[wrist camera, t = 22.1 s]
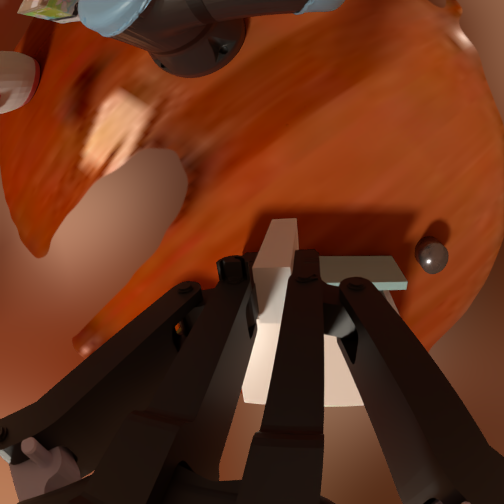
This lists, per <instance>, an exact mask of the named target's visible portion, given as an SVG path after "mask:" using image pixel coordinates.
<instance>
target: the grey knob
mask: <svg viewBox="0 0 504 504" xmlns="http://www.w3.org/2000/svg"><path fill="white" fill-rule="evenodd" d="M415 258H416V260H417V261H418V263H419V264H420V265H421V266H422V268H423V269H424V270H425V271H426V272H427V273H429V274H436V273H438V272H440V271H441V270H443V268H444V267H445V266H446V264H447V262H448V251H447V249H446V248H445V247H444V246H443V245H442V244H441V243H440V242H439V241H438V240H437V239H436V238H434V237H431V236H428V237H424V238H423V239H421V240H420V241H419V242H418V244H417V245H416V248H415Z"/></svg>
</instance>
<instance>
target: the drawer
mask: <svg viewBox="0 0 504 504" xmlns="http://www.w3.org/2000/svg"><path fill="white" fill-rule="evenodd" d="M319 261H320V275H321V279H322V280H323V281H324V282H325V283H327V284H330V285H334V286H339V284H340V282H341V281H342V280H344V279H346V278H349V277H363V278H365V279H368V280H369V281H371V282H372V283H373V284H374V285H375V287H376V288H377V289H378V290H379V291H380V293H381V290H406V288H407V283H408V281H407V280H406V278H405V276H404V275H403V273H402V271H401V270H400V268H399V267H398V265H397V263H396V262H395V260H394V259H393V257H392V256H319Z"/></svg>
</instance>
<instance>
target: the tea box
mask: <svg viewBox="0 0 504 504" xmlns="http://www.w3.org/2000/svg"><path fill="white" fill-rule="evenodd" d="M78 2H79V0H23V2H22V4H21V6H20V8H19V10H18V13H19V14H24V15H28V16H33V17H38V18H42V19H46V20H50V21H54V22H58V23H67V22H75V21H81V20H80V18H79V14H78Z"/></svg>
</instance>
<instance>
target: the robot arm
mask: <svg viewBox="0 0 504 504" xmlns="http://www.w3.org/2000/svg"><path fill="white" fill-rule="evenodd" d="M344 1H345V0H79V2H78V14H79V18H80V20H81V22H82V23H83V24H84V25H85V26H86V27H88V28H89V29H92V30H94V31H96V32H98V33H100V34H101V35H102V36H104V37H110V38H113V39H116V40H119V41H122V42H125V43H128V44H130V45H133V46H136V47H138V48H141V49H144V50H146V51H148V52H149V54H150V56H151V57H152V59H153V60H154V62H155V63H156V64H157V65H158V66H159V67H160V68H161V69H163V70H164V71H166V72H168V73H171V74H173V75H176V76H179V77H185V78H195V77H201V76H205V75H208V74H211V73H213V72H215V71H217V70H219V69H221V68H222V67H224V66H225V65H226V64H228V63H229V62H230V61H231V60H232V59H233V58H234V57H235V56H236V54H237V53H238V52H239V50H240V48H241V46H242V44H243V41H244V38H245V22H244V19H243V18H246V17H254V16H263V15H273V14H288V13H293V14H295V15H299V14H303V13H304V12H328V11H333V10H335V9H337V8H338V7H340V6H341V5H342V4H343V3H344ZM216 264H217V269H218V275H219V280H220V281H219V282H218V284H217V286H216V287H215V288H213V289H208V290H201V286H200V284H199V283H197V282H190V281H186V282H182V283H180V284H178V285H176V286H174V287H173V288H172V289H170V290H169V291H168V292H167V293H165V294H164V295H163V296H162V297H160V298H159V299H158V300H157V301H155V302H154V303H153V304H152V305H150V306H149V307H148V308H147V309H146V310H144V311H143V312H142V313H141V314H139V315H138V316H137V317H136V318H135V319H133V320H132V321H131V322H130V323H128V324H127V325H126V326H125V327H124V328H122V329H121V330H120V331H119V332H118V333H116V334H115V335H114V336H113V337H112V338H110V339H109V340H108V341H107V342H106V343H104V344H103V345H102V346H101V347H100V348H98V349H97V350H96V351H95V352H94V353H92V354H91V355H90V356H89V357H88V358H87V359H85V360H84V361H83V362H82V363H81V364H79V365H78V366H77V367H76V368H75V369H74V370H72V371H71V372H70V373H69V374H68V375H67V376H65V377H64V378H63V379H62V380H61V381H60V382H58V383H57V384H56V385H55V386H54V387H53V388H52V389H50V390H49V391H48V392H47V393H46V394H45V395H44V396H42V397H41V398H40V399H39V400H38V401H37V402H35V403H33V404H31V405H29V406H27V407H25V408H23V409H21V410H19V411H17V412H15V413H13V414H11V415H8V416H6V417H4V418H2V419H0V456H1V457H2V458H3V459H4V460H5V461H6V462H8V464H9V466H10V470H11V474H12V478H13V482H14V486H15V489H16V492H17V496H18V499H19V503H17V504H335V503H333V502H332V501H330V500H329V499H327V498H325V497H322V496H320V492H321V480H322V468H323V453H324V434H323V423H324V422H323V421H324V334H325V335H330V336H335V337H336V339H337V343H338V346H339V348H340V350H341V352H342V355H343V357H344V359H345V361H346V364H347V366H348V368H349V370H350V373H351V375H352V377H353V380H354V382H355V384H356V387H357V389H358V391H359V394H360V396H361V399H362V401H363V403H364V406H365V408H366V411H367V413H368V416H369V418H370V420H371V423H372V425H373V428H374V430H375V433H376V435H377V438H378V440H379V443H380V446H381V448H382V451H383V453H384V456H385V459H386V461H387V464H388V466H389V469H390V472H391V474H392V477H393V480H394V483H395V486H396V488H397V491H398V494H399V496H400V498H401V501H402V503H403V504H504V457H503V456H502V455H501V454H499V453H498V452H497V451H495V450H494V449H493V448H492V447H491V446H489V444H488V443H487V441H486V439H485V437H484V436H483V434H482V432H481V431H480V429H479V427H478V426H477V424H476V422H475V421H474V419H473V418H472V416H471V415H470V413H469V412H468V410H467V408H466V407H465V405H464V404H463V402H462V400H461V399H460V398H459V396H458V394H457V393H456V392H455V390H454V389H453V387H452V386H451V384H450V383H449V381H448V380H447V379H446V377H445V376H444V374H443V373H442V371H441V370H440V369H439V367H438V366H437V364H436V363H435V362H434V360H433V359H432V357H431V356H430V355H429V353H428V352H427V351H426V349H425V348H424V347H423V345H422V344H421V343H420V341H419V340H418V339H417V337H416V336H415V335H414V334H413V332H412V331H411V330H410V328H409V327H408V326H407V325H406V323H405V322H404V321H403V319H402V318H401V317H400V316H399V314H398V313H397V312H396V311H395V310H394V308H393V307H392V306H391V305H390V303H389V302H388V301H387V300H386V299H385V297H384V296H383V295H382V294H381V293H380V291H379V290H378V289H377V288H376V287H375V285H374V284H373V283H372V282H371V281H369V280H368V279H365V278H363V277H349V278H346V279H344V280H342V281H341V282H340V284H339V286H334V285H330V284H327V283H325V282H324V281H323V280H322V279H321V275H320V261H319V253H318V252H317V251H316V250H315V249H308V250H299V244H298V229H297V218H288V219H272V221H271V223H270V226H269V228H268V231H267V233H266V235H265V238H264V240H263V243H262V245H261V248H260V250H259V252H251V253H245V254H244V255H243V256H239V255H234V256H228V257H224V258H222V259H220V260H218V261H217V262H216ZM258 315H259V323H281V326H280V331H279V337H278V343H277V348H276V354H275V359H274V364H273V370H272V375H271V380H270V385H269V390H268V395H267V400H266V405H265V410H264V415H263V419H262V424H261V428H260V430H259V431H258V432H256V433H255V435H254V436H253V439H252V443H251V446H250V450H249V454H248V458H247V462H246V466H245V470H244V474H243V477H242V480H232V481H219V463H220V459H221V456H222V452H223V449H224V446H225V442H226V440H227V436H228V433H229V429H230V426H231V423H232V419H233V416H234V413H235V409H236V406H237V402H238V399H239V395H240V392H241V389H242V385H243V381H244V378H245V374H246V371H247V367H248V364H249V360H250V356H251V353H252V349H253V346H254V342H255V338H256V334H257V331H258V328H257V317H258ZM178 323H179V324H180V327H181V331H180V332H179V333H178V334H177V332H176V330H175V326H176V325H177V324H178ZM94 470H95V471H94ZM92 471H94V473H93V474H92V475H90V476H87V477H85V478H83V479H82V477H84V476H86V475H88V474H89V473H91V472H92Z"/></svg>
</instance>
